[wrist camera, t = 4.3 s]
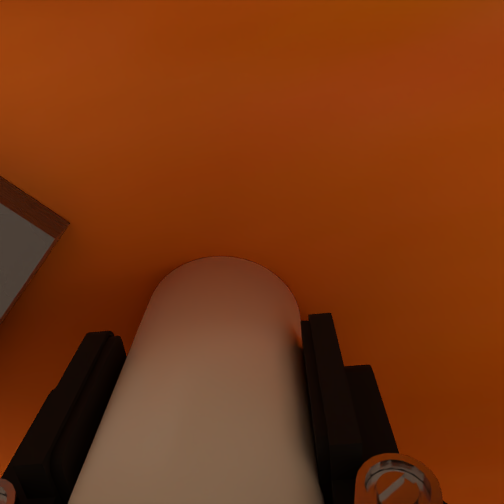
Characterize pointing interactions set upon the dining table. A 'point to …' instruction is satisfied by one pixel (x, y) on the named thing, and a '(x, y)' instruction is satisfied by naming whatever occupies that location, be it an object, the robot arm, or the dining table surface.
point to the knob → (209, 397)
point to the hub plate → (23, 241)
